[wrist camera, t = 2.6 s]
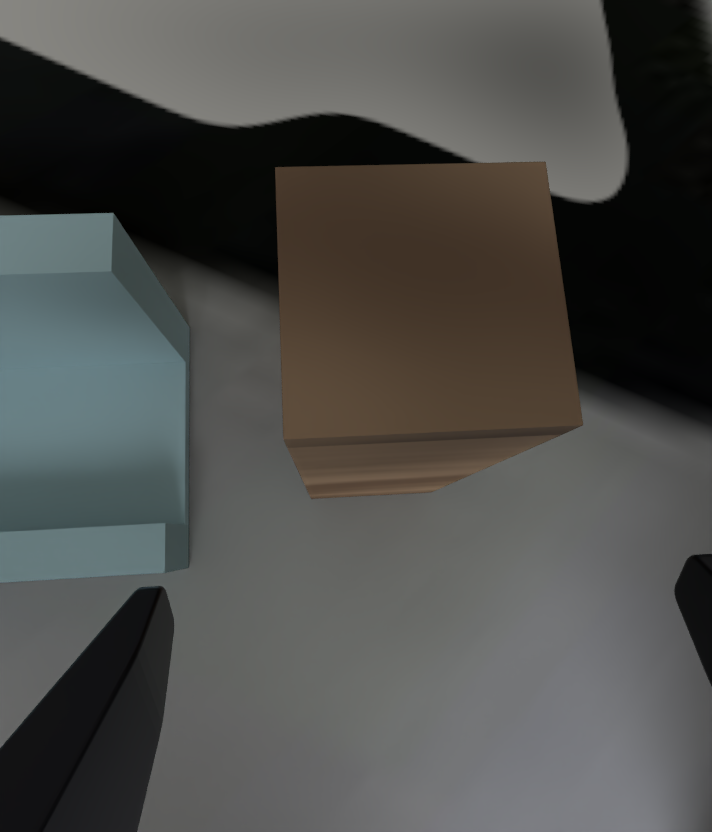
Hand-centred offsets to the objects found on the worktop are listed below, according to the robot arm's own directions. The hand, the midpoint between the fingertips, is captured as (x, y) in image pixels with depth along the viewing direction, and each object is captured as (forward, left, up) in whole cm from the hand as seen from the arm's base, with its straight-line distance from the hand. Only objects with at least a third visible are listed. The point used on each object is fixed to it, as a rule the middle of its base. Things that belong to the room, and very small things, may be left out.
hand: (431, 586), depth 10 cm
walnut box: (+2, -4, -11) cm, 12 cm away
